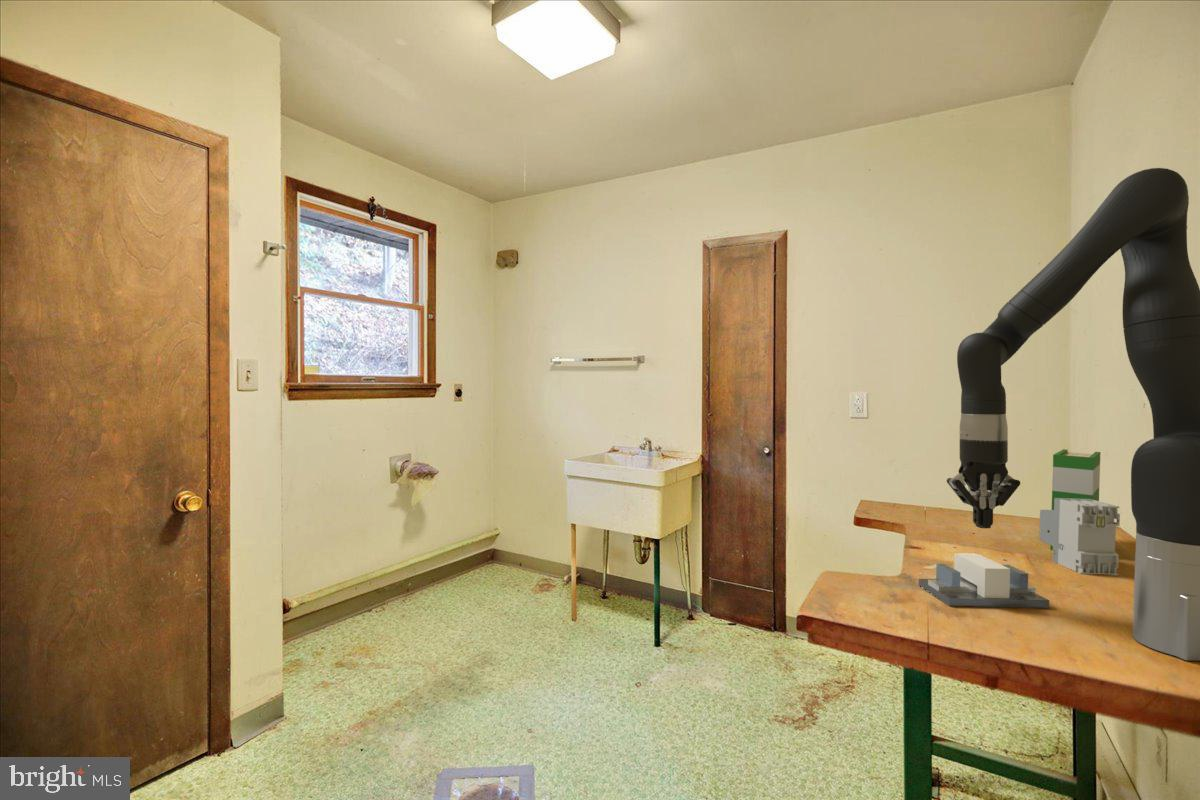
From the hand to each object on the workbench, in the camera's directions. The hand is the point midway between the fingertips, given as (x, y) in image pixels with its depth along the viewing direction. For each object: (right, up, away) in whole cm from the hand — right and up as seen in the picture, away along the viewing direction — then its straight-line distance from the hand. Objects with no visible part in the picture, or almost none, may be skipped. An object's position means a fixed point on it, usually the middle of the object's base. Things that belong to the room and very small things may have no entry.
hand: (983, 527), depth 102 cm
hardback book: (+48, -13, +34) cm, 60 cm away
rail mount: (0, -14, +1) cm, 14 cm away
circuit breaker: (+36, -14, +20) cm, 43 cm away
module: (0, -12, +1) cm, 12 cm away
